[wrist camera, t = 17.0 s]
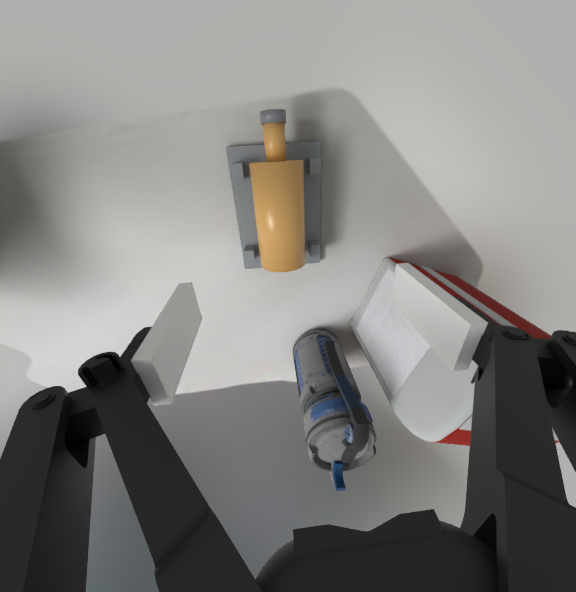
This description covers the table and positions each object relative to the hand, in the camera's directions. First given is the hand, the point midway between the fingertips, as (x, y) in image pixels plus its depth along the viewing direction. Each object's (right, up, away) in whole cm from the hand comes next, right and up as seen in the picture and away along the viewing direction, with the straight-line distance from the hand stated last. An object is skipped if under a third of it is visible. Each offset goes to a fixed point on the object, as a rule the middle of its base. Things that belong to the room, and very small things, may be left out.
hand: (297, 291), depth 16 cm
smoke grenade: (+6, -10, +38) cm, 39 cm away
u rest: (-2, +13, +23) cm, 27 cm away
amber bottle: (-2, +15, +21) cm, 26 cm away
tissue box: (+23, -2, +35) cm, 42 cm away
